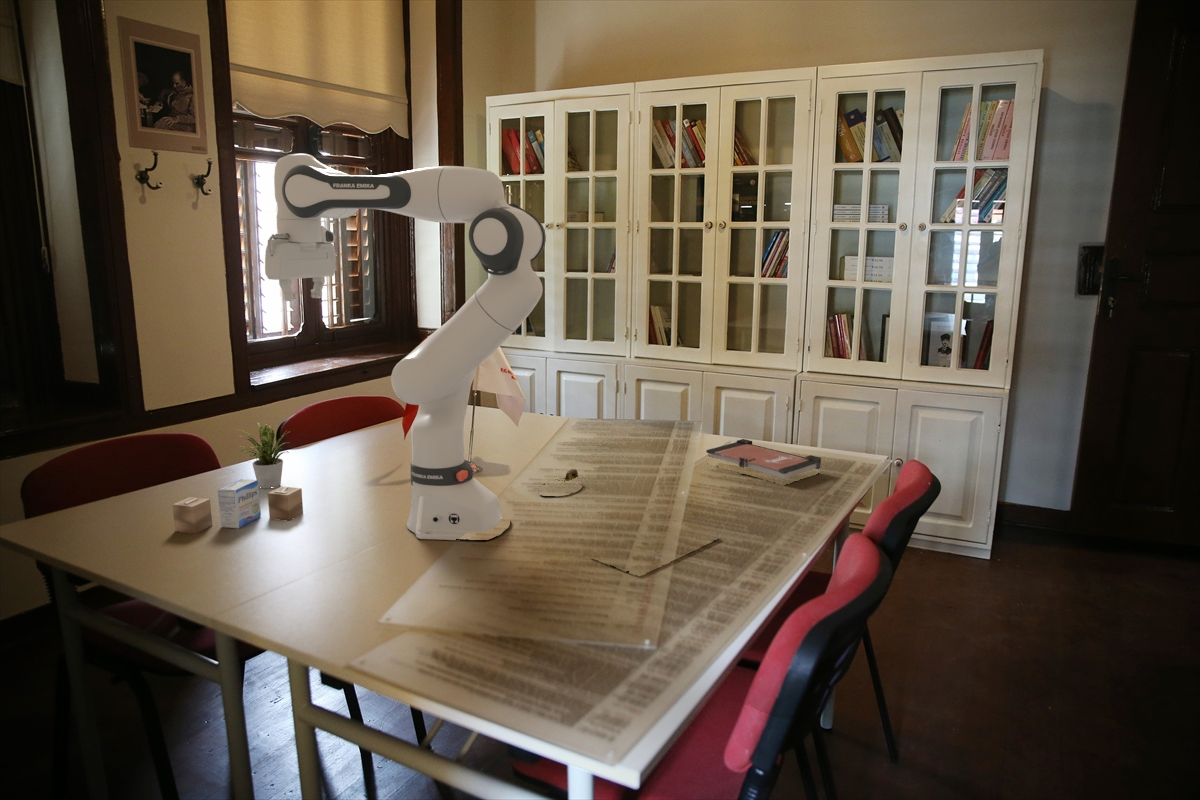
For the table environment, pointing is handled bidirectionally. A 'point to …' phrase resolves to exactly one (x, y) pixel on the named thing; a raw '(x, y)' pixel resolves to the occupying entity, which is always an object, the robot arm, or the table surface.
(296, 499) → the walnut block seven
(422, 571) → the table surface
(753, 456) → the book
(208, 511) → the walnut block one
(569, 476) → the seal
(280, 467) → the house plant
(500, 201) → the robot arm
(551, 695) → the table surface
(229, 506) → the medicine box
